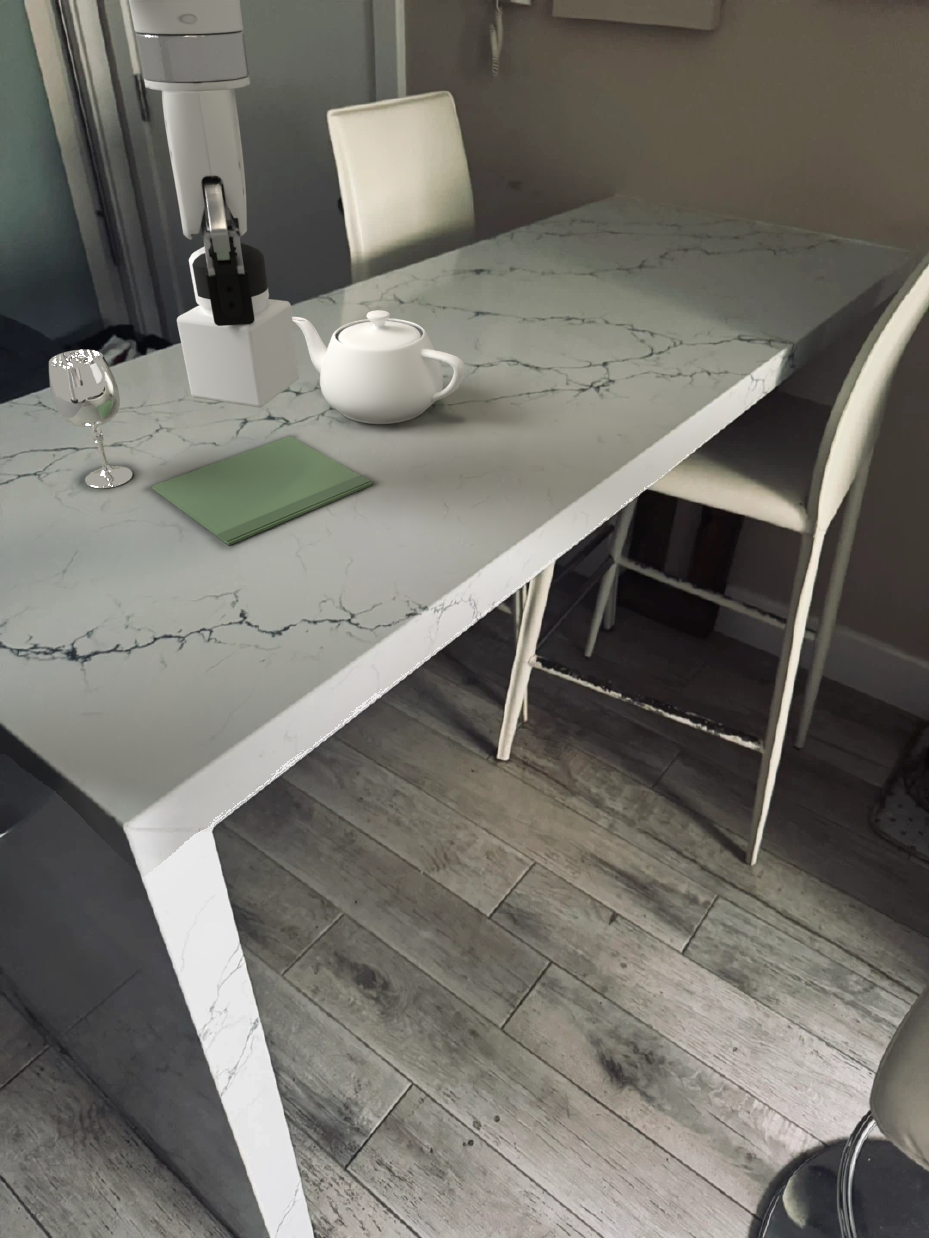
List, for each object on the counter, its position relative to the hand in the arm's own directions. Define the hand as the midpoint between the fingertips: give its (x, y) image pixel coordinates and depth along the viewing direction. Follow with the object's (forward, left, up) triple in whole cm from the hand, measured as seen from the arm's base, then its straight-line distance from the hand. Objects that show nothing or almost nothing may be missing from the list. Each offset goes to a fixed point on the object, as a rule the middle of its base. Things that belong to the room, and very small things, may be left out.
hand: (233, 306), depth 74 cm
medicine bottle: (0, 0, -7) cm, 7 cm away
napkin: (0, 0, -17) cm, 17 cm away
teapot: (+20, +7, -18) cm, 28 cm away
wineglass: (-10, +12, -17) cm, 23 cm away
